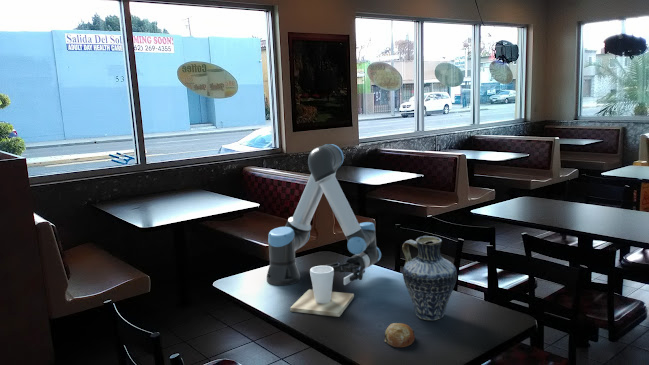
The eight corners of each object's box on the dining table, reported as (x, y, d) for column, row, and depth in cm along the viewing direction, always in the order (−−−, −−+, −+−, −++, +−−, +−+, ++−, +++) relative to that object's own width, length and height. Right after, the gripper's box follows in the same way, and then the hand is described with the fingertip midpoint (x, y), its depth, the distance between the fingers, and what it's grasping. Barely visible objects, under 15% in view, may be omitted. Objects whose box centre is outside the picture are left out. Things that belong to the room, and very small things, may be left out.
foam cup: (335, 296, 216) (334, 265, 214) (333, 305, 207) (332, 273, 205) (312, 295, 217) (311, 265, 215) (309, 304, 208) (308, 273, 206)
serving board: (290, 311, 206) (290, 307, 206) (308, 292, 225) (308, 289, 225) (339, 316, 200) (339, 313, 200) (354, 297, 218) (353, 293, 218)
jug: (463, 311, 201) (463, 234, 195) (447, 332, 184) (447, 248, 179) (411, 302, 211) (411, 229, 206) (392, 321, 195) (391, 242, 189)
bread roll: (384, 346, 183) (375, 328, 181) (408, 329, 186) (399, 311, 183) (398, 359, 174) (388, 340, 172) (422, 341, 177) (413, 322, 174)
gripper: (382, 276, 225) (356, 293, 208) (334, 266, 240) (306, 282, 223) (382, 259, 224) (356, 275, 207) (333, 250, 238) (305, 265, 221)
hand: (330, 278), depth 215 cm, fingers open, 13 cm apart
